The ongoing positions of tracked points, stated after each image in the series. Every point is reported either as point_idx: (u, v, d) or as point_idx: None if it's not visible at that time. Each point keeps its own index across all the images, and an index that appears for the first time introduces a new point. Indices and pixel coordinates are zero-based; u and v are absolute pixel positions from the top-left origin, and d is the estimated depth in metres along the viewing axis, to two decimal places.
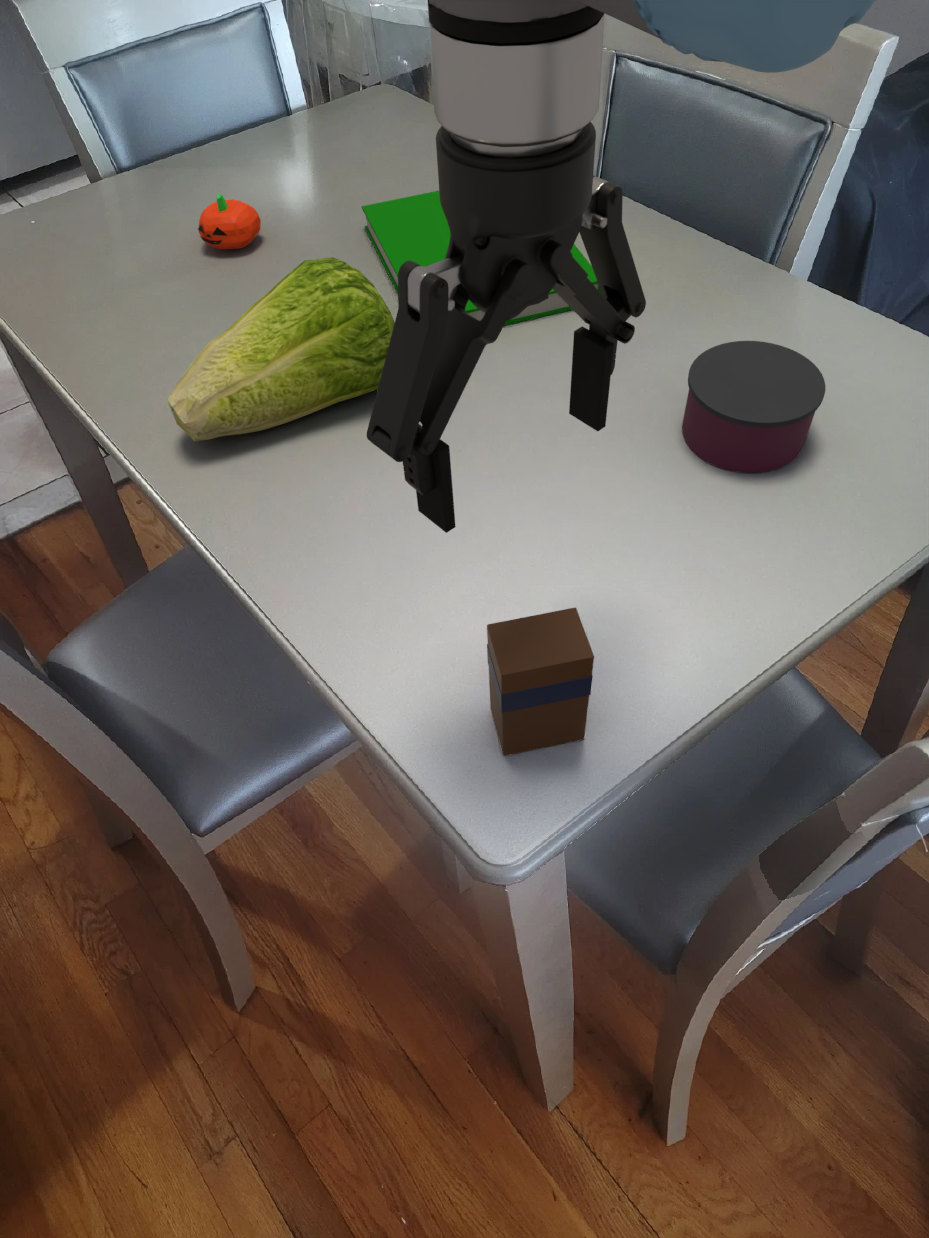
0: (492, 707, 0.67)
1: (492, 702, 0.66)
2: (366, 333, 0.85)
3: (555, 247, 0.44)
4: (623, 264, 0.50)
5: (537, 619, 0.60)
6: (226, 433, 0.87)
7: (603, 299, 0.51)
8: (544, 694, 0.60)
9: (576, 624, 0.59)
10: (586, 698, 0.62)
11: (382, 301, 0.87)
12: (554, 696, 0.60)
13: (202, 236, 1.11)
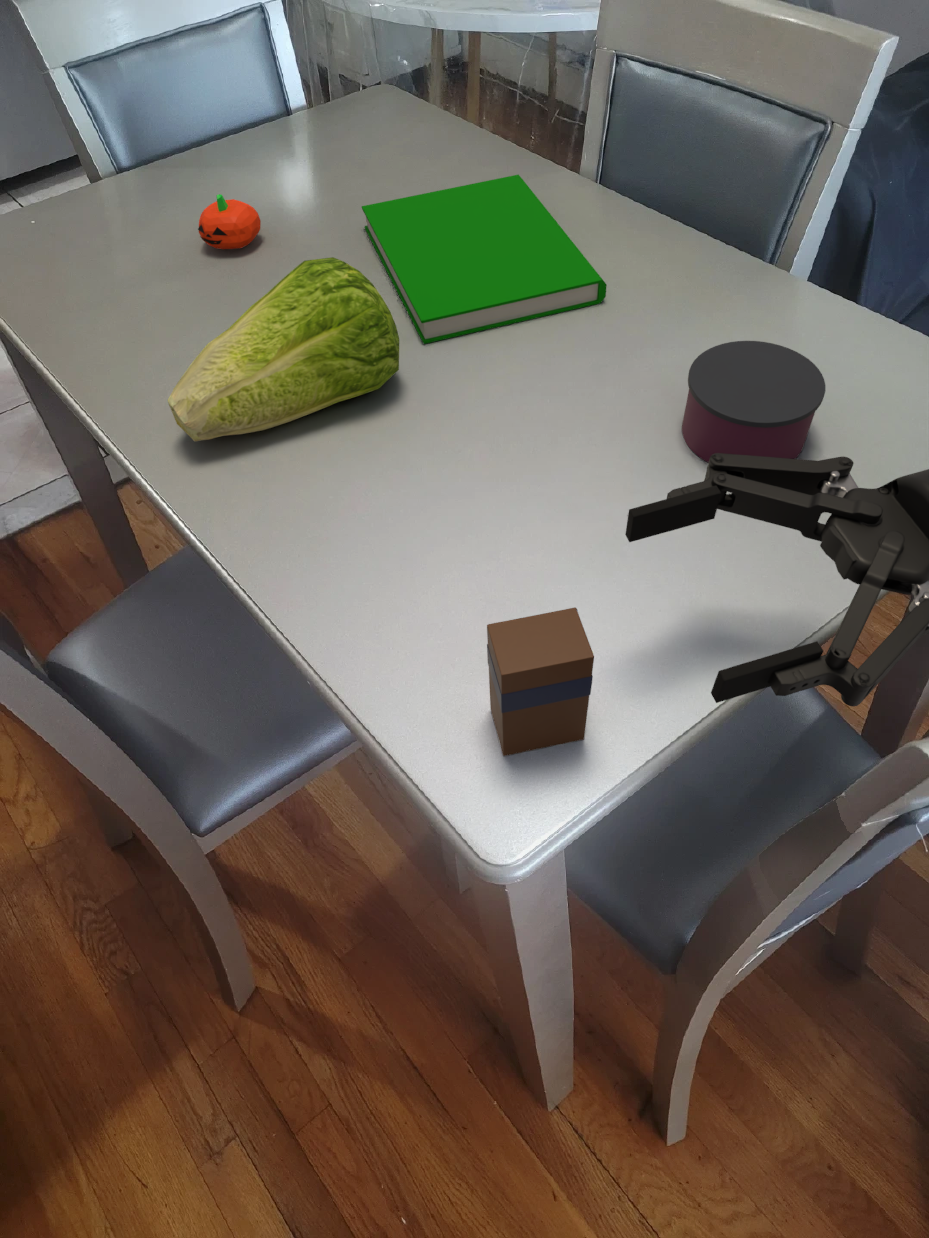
0: (492, 707, 0.67)
1: (492, 702, 0.66)
2: (366, 333, 0.85)
3: None
4: (901, 634, 0.53)
5: (537, 619, 0.60)
6: (226, 433, 0.87)
7: (864, 621, 0.53)
8: (544, 694, 0.60)
9: (576, 624, 0.59)
10: (586, 698, 0.62)
11: (382, 301, 0.87)
12: (554, 696, 0.60)
13: (202, 236, 1.11)
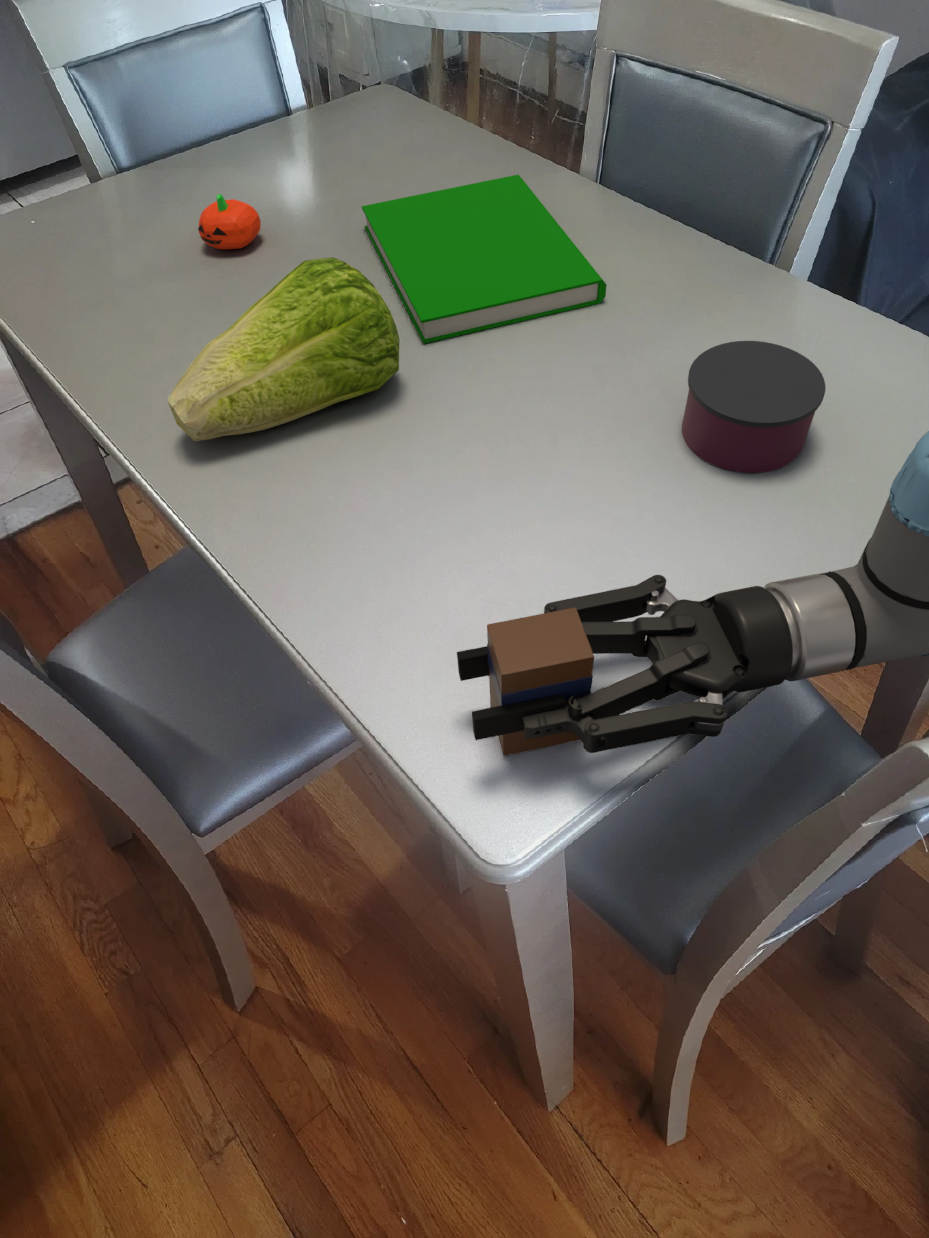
0: None
1: (492, 702, 0.66)
2: (366, 333, 0.85)
3: None
4: (652, 714, 0.59)
5: (537, 619, 0.60)
6: (226, 433, 0.87)
7: (621, 695, 0.60)
8: (544, 694, 0.60)
9: (576, 624, 0.59)
10: None
11: (382, 301, 0.87)
12: None
13: (202, 236, 1.11)
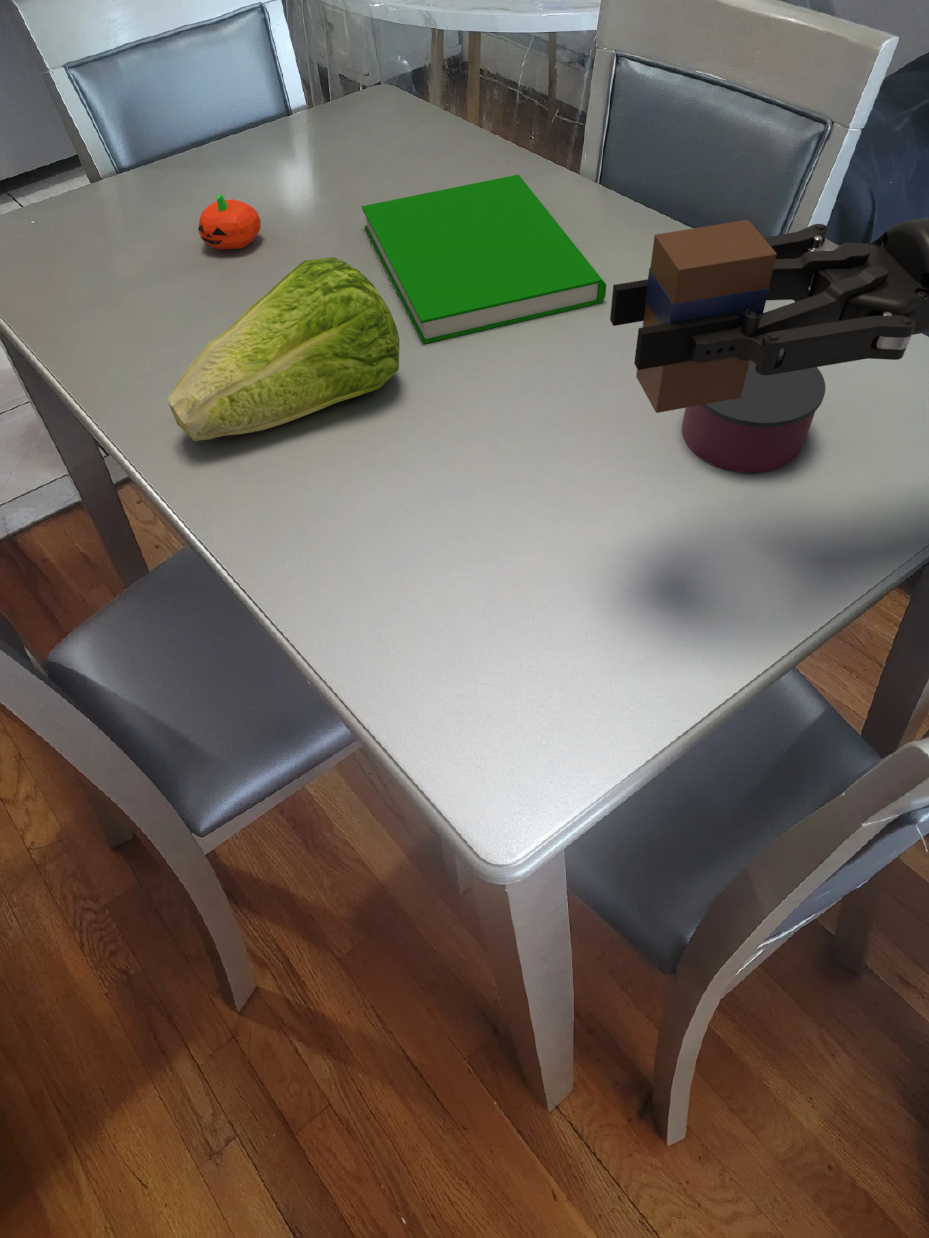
0: None
1: None
2: (366, 333, 0.85)
3: None
4: (835, 326, 0.55)
5: (708, 229, 0.56)
6: (226, 433, 0.87)
7: (798, 313, 0.56)
8: (715, 311, 0.56)
9: (752, 231, 0.55)
10: None
11: (382, 301, 0.87)
12: None
13: (202, 236, 1.11)
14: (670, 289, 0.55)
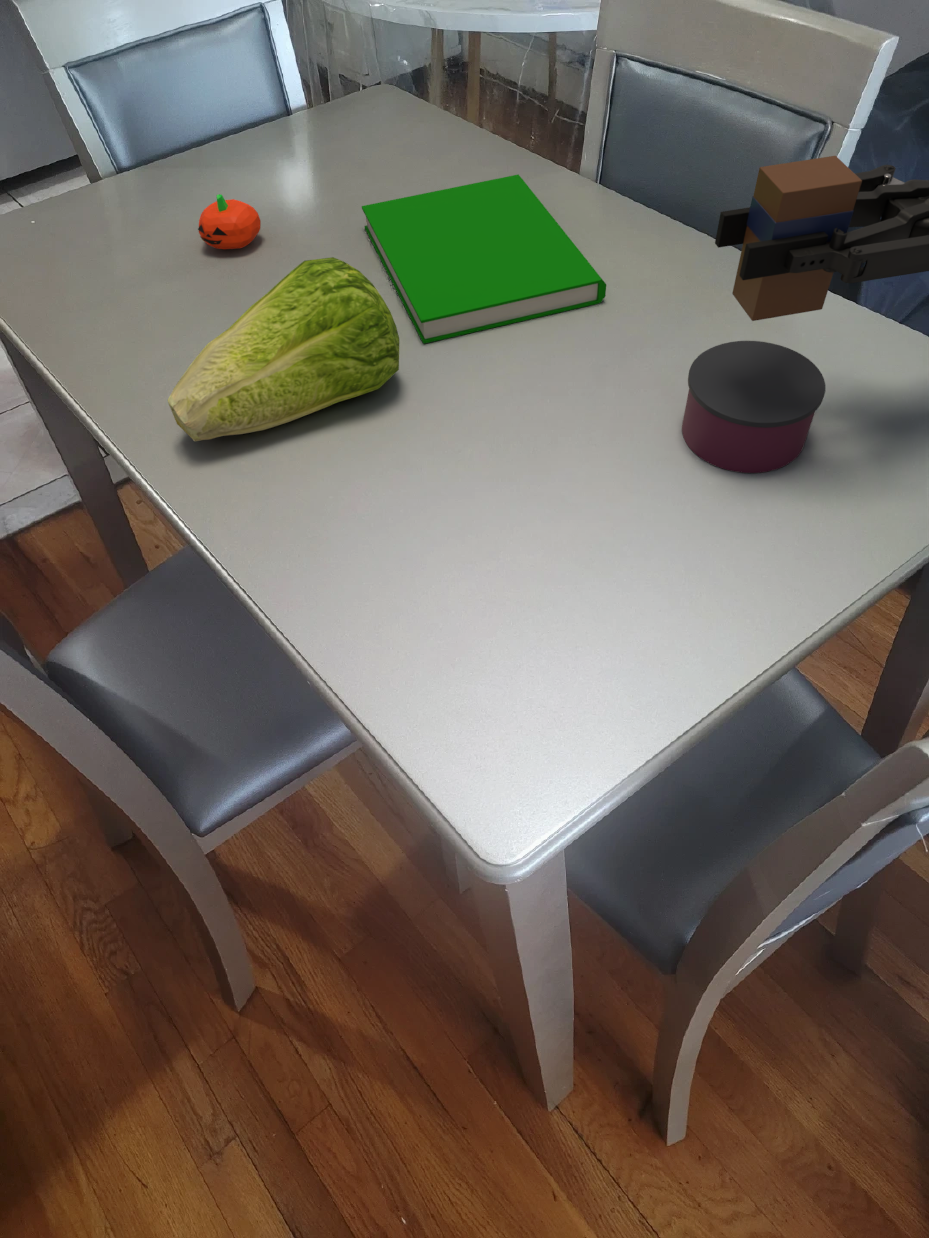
0: (739, 282, 0.75)
1: None
2: (366, 333, 0.85)
3: None
4: (908, 242, 0.67)
5: (803, 163, 0.68)
6: (226, 433, 0.87)
7: (876, 232, 0.68)
8: (809, 230, 0.68)
9: (839, 164, 0.68)
10: None
11: (382, 301, 0.87)
12: None
13: (202, 236, 1.11)
14: (773, 211, 0.67)
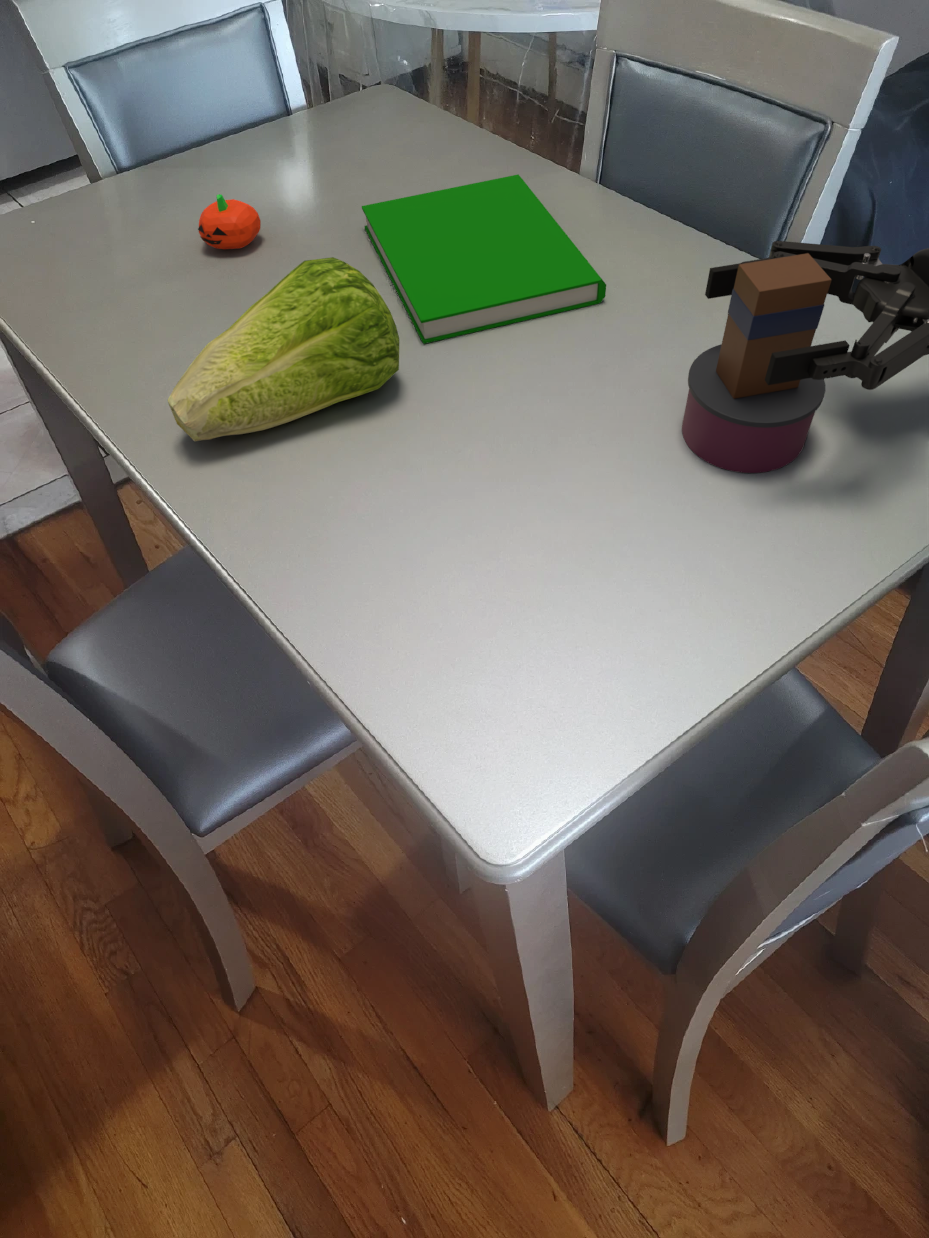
0: (722, 362, 0.81)
1: (724, 355, 0.81)
2: (366, 332, 0.85)
3: None
4: (908, 340, 0.72)
5: (779, 260, 0.75)
6: (226, 433, 0.87)
7: (881, 332, 0.73)
8: (784, 321, 0.75)
9: (811, 262, 0.74)
10: (813, 332, 0.76)
11: (382, 301, 0.87)
12: (790, 325, 0.75)
13: (202, 236, 1.11)
14: (751, 305, 0.74)
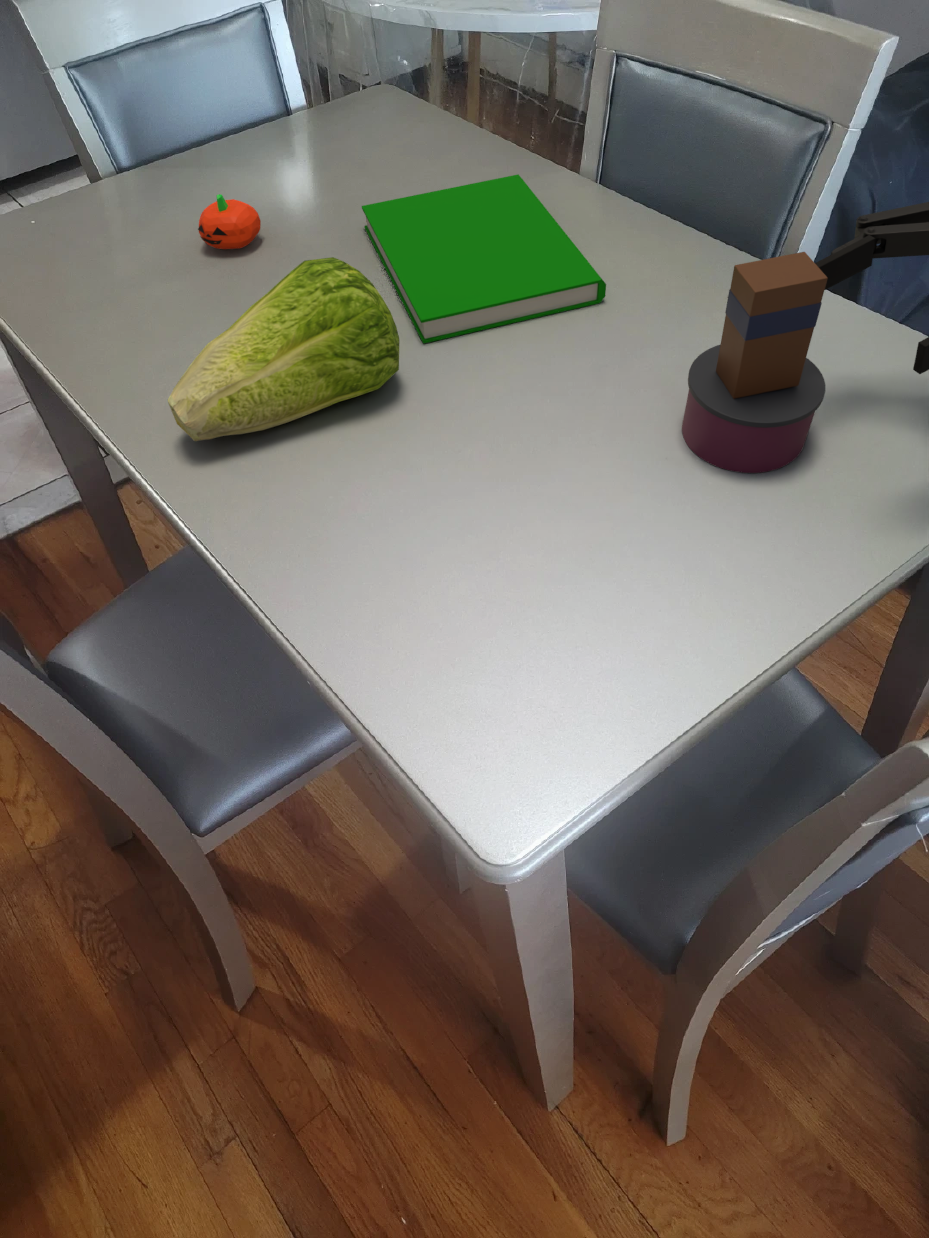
0: (721, 362, 0.81)
1: (723, 355, 0.81)
2: (366, 333, 0.85)
3: None
4: None
5: (775, 260, 0.74)
6: (226, 433, 0.87)
7: None
8: (781, 321, 0.75)
9: (808, 261, 0.74)
10: (811, 331, 0.76)
11: (382, 301, 0.87)
12: (788, 324, 0.75)
13: (202, 236, 1.11)
14: (747, 306, 0.74)
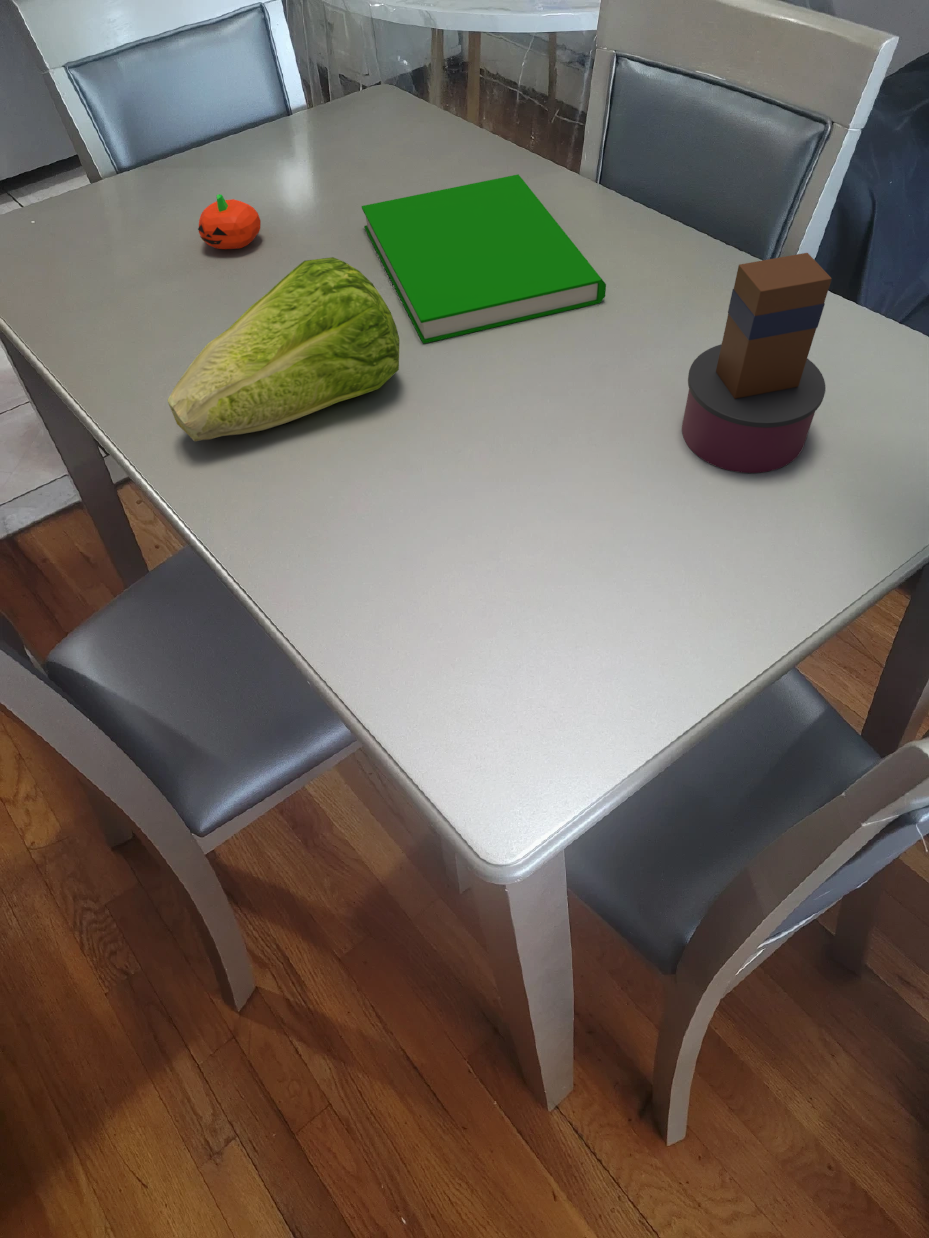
0: (722, 362, 0.81)
1: (724, 355, 0.81)
2: (366, 333, 0.85)
3: None
4: None
5: (778, 260, 0.75)
6: (226, 433, 0.87)
7: None
8: (784, 321, 0.75)
9: (811, 261, 0.74)
10: (813, 332, 0.76)
11: (382, 301, 0.87)
12: (791, 325, 0.75)
13: (202, 236, 1.11)
14: (752, 305, 0.74)
